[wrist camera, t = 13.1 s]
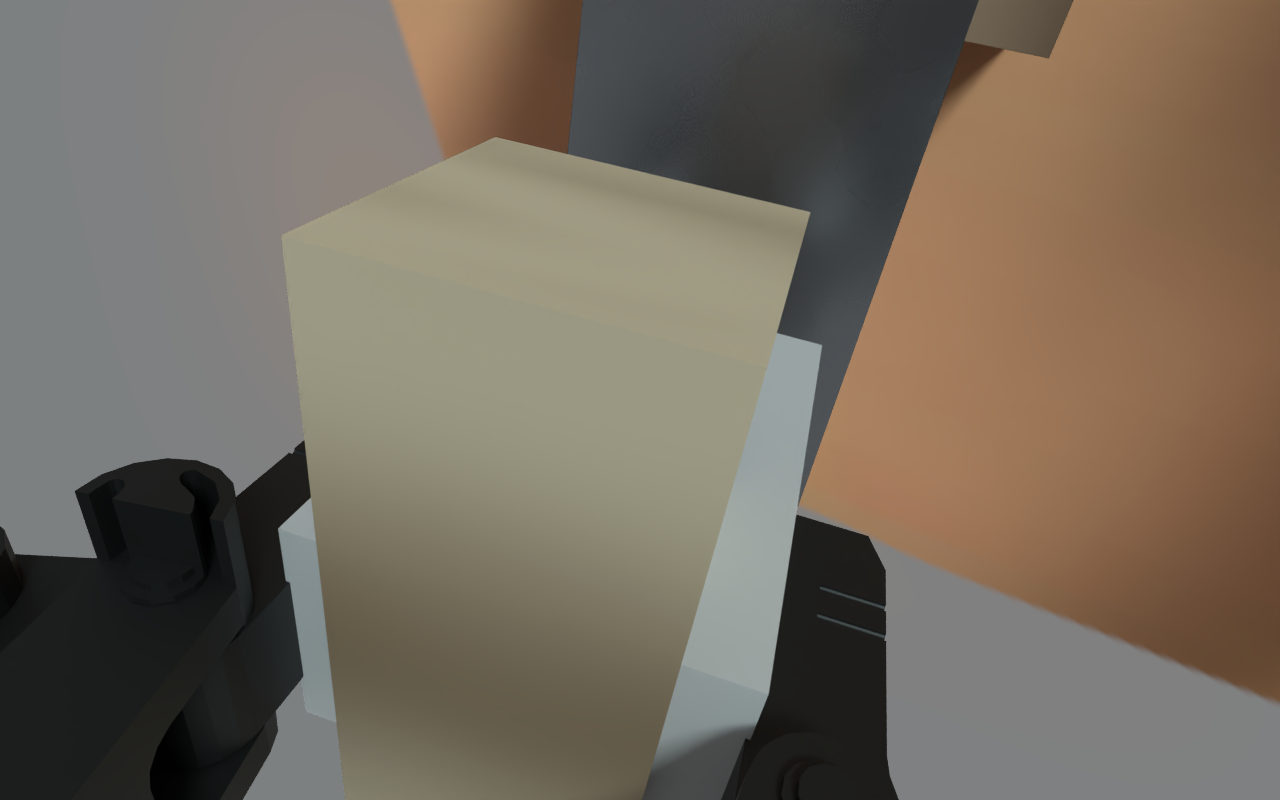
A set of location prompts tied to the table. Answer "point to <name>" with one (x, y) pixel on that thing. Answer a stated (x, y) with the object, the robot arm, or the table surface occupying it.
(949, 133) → the table surface
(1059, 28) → the flip board
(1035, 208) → the table surface
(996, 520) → the table surface
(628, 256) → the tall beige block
